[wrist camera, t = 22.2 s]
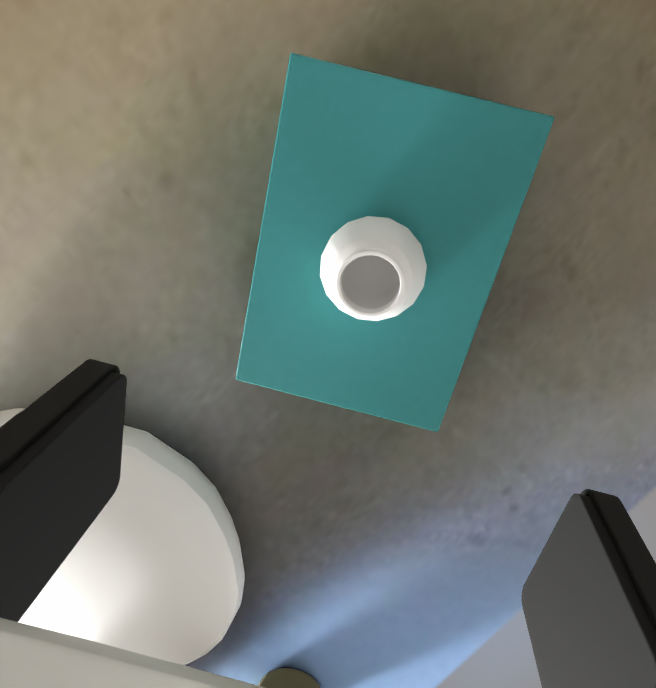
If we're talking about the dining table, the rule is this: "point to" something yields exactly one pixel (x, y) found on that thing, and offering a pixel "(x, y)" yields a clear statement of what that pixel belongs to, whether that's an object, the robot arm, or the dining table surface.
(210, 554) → the plate
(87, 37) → the dining table surface
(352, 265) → the white jar
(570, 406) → the dining table surface
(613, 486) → the dining table surface
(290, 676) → the squeeze bottle
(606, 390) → the dining table surface
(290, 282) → the lunchbox lid
